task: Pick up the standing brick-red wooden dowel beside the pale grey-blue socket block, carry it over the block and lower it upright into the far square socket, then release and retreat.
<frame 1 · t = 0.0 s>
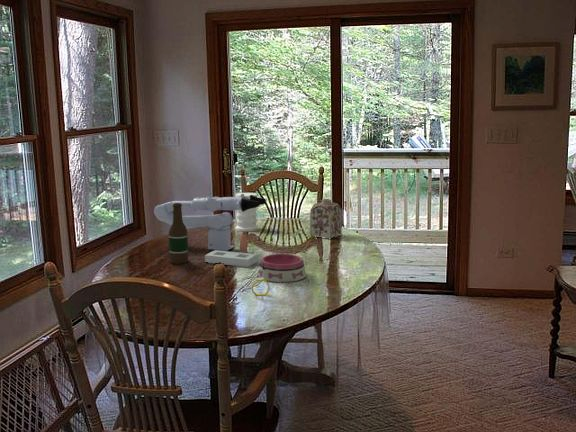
hand: (262, 202, 254), 22 cm above the table, tool horizontal, fingers open, 7 cm apart
peg: (243, 256, 252), on the table
hole block: (231, 261, 243), on the table
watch: (260, 295, 202), on the table
dog bowl: (282, 276, 224), on the table
decorative container: (246, 229, 305), on the table
beer bottle: (179, 262, 243), on the table
decorative jar: (325, 236, 290), on the table
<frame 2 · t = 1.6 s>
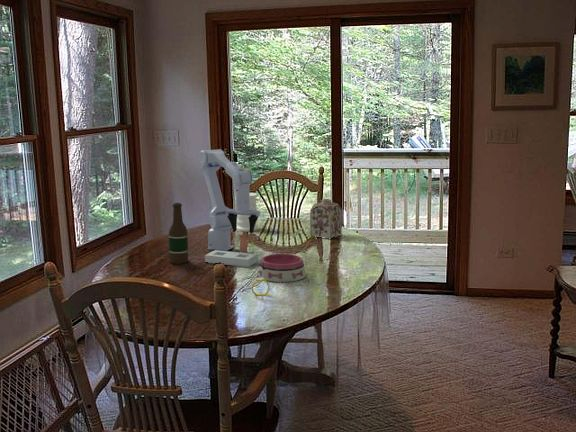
hand: (243, 232, 250), 10 cm above the table, tool pointing down, fingers open, 7 cm apart
nothing on the table moved.
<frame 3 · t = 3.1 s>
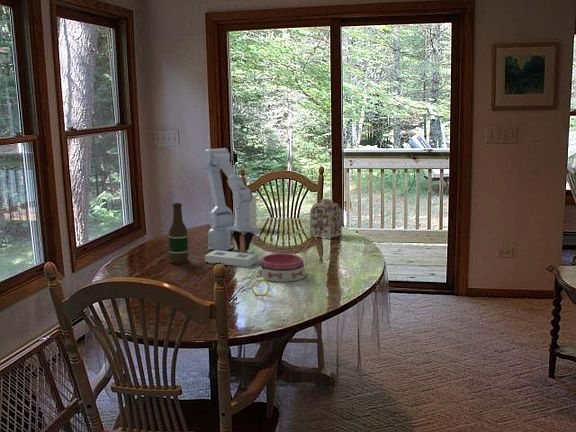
hand: (243, 249, 251), 3 cm above the table, tool pointing down, fingers closed on peg, 3 cm apart
peg: (243, 256, 252), on the table, touching gripper
everything else where it was.
when the fingers open (4 cm above the table, at t = 6.2 s): peg stays where it is, resting in hole block.
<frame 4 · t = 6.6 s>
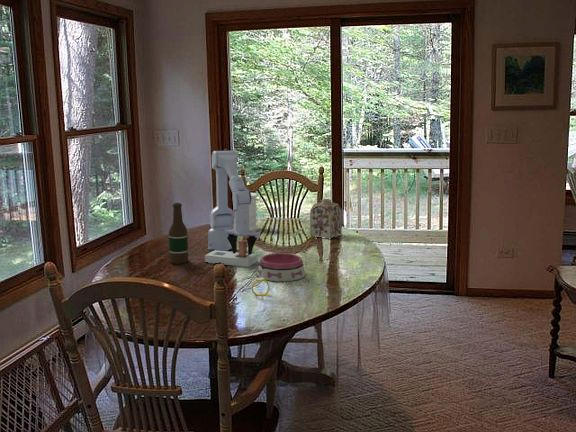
hand: (242, 253, 241), 4 cm above the table, tool pointing down, fingers open, 6 cm apart
peg: (242, 263, 241), resting in hole block
everything else where it was.
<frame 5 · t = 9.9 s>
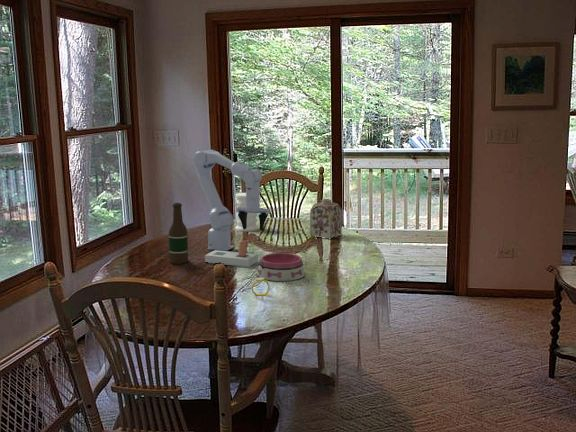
hand: (253, 229, 255), 10 cm above the table, tool pointing down, fingers open, 7 cm apart
at the end: peg 0.0 cm from the target spot on the hole block, point 0.0 cm above the hole block's base; peg tilted 0°; the gripper is holding nothing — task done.
